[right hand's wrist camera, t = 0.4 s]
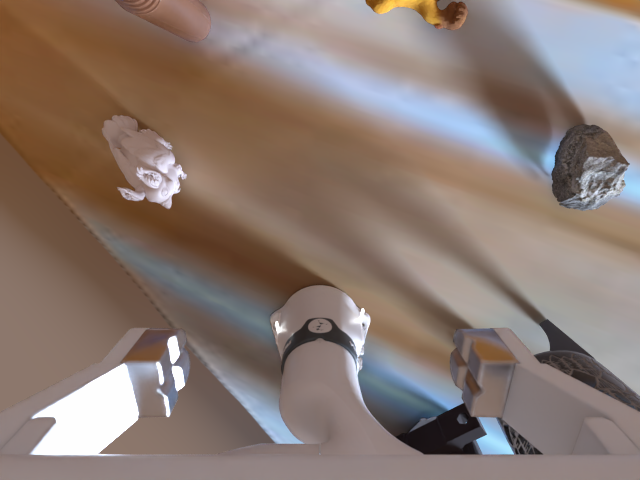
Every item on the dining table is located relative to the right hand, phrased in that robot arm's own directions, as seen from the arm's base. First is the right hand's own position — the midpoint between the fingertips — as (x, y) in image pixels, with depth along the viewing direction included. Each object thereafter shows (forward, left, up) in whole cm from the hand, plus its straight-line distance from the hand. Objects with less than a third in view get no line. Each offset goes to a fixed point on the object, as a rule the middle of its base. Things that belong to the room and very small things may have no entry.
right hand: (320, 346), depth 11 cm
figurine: (-1, +26, -48) cm, 55 cm away
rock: (-3, -41, -48) cm, 63 cm away
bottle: (+18, +18, -48) cm, 54 cm away
